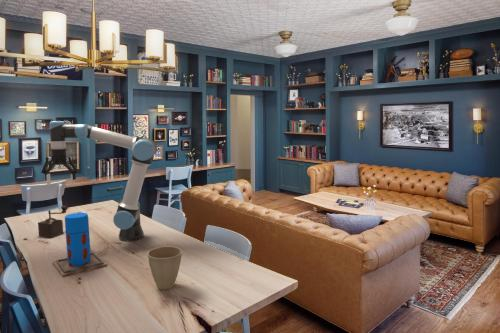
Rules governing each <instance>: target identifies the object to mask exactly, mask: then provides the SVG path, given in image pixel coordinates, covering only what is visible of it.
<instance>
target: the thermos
mask: <svg viewBox="0 0 500 333" xmlns="http://www.w3.org/2000/svg"><path fill="white" fill-rule="evenodd" d="M89 223H90V222H89V215H88V213H86V212H74V213H69V214H66V215H65V216H64V227H65V230H64V231H65V239H66V240H65V242H66V258H68V264H69V266H73V267H77V266H83V265H86V264H88V263H90V261H91V253H92V252H91V241H90V240H91V239H90V224H89Z"/></svg>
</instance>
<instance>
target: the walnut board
mask: <svg viewBox="0 0 500 333" xmlns="http://www.w3.org/2000/svg"><path fill="white" fill-rule="evenodd" d="M90 253H91V261H90V263H88V264H86V265H83V266H77V267H73V266H69V264H68V258H67V257H64V258H60V259H56V260H55V261H52V265H53V266H54V268H55V269H56V271H57V272H58V274H59V275H60V276H61V277H62V278H65V277H69V276H73V275H76V274H82V273H85V272H89V271H93V270H99V269H103V268H106V267H108V263H107V262H106V261H105V260H103V259H102V258H101V257H100V255H99V254H97V253H96V252H93V251H92V252H90Z"/></svg>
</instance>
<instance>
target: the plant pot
mask: <svg viewBox="0 0 500 333" xmlns="http://www.w3.org/2000/svg"><path fill="white" fill-rule="evenodd" d="M147 259H148V264H149V268H150V272H151V276H152V278H153V281H154V283H155V285H156V287H157V288H158V289H159V290H170V289H172V288H173V287H174V285H175V283H176V280H177V278H178V274H179V271H180V266H181V261H182V249H181V248H179V247H176V246H167V245H166V246H158V247H155V248H152V249H150V250H148V252H147Z"/></svg>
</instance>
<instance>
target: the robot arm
mask: <svg viewBox="0 0 500 333" xmlns="http://www.w3.org/2000/svg"><path fill="white" fill-rule="evenodd" d="M48 130H49V138H50V148H51V150H50V154H51V157H50V156H46V157H45V162H44V164H43V167H42V168H41V171H40V173H41V174H43V175H44V179H45V180H46V185H47V187H49V186H51V184H52V183H51V182H52V181H51V173H50V172H51V171H52V169H53V168H54V167H55V166H57V165H60V166H64V167H66V169H67V170H68V171H69V172H70V182H71V183H70V184H71V187H72V186H75V185H76V184H75V183H76V182H75V180H77V176H76V175H77V173H79V172H80V171H79V169H78V167H77V165H76V163H75V161H74V160H73V156H68V157H67V149H66V147H67V144H66V143H67V142H66V139H85V138H86V139H91V140H94V141H99V142H102V143H105V144H110V145H114V146H117V147H120V148H121V147H122V148H124V149H129V150H132V151H131V152H132V154H131V159H130V160H131V162H132V164H131V167H130V168H131V169H130V172H129V176H128V179H127V182H126V186H125V190H124V193H123V196H122V201H120V202H119V203H118V205H117V208H116V212H115V213H114V215H113V219H112V220H113V221H112V222H113V223H114V224H113V225H114V226H115V227H116V228H118V229H119V233H118V240H119V241H122V242H124V241H125V242H132V241H133V242H134V241H139V240H141V239H143V238H144V237H145V233H144V230H143V227H142V225H141V204H140V202H139V198H140V195H141V192H142V187H143V184H144V181H145V177H146V173H147V170H148V167H149V166H151V165H152V162H153V159H154V156H155V155H156V153H157V150H158V146H157V143H156V142H155V141H154V140H153V139H151V138H147V137H142V136H141V137H140V136H132V135H126V134H123V133H119V132H115V131H113V130H112V131H111V130H107V129H103V128H99V127H95V126H92V125H89V124H87V123H82V124H81V123H80V124H65V121H63V120H62V121H61V120H53V121H50V122H49V129H48ZM51 161H52V162H51ZM67 161H68V162H67ZM50 163H51V164H50ZM49 164H50V165H49Z"/></svg>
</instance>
